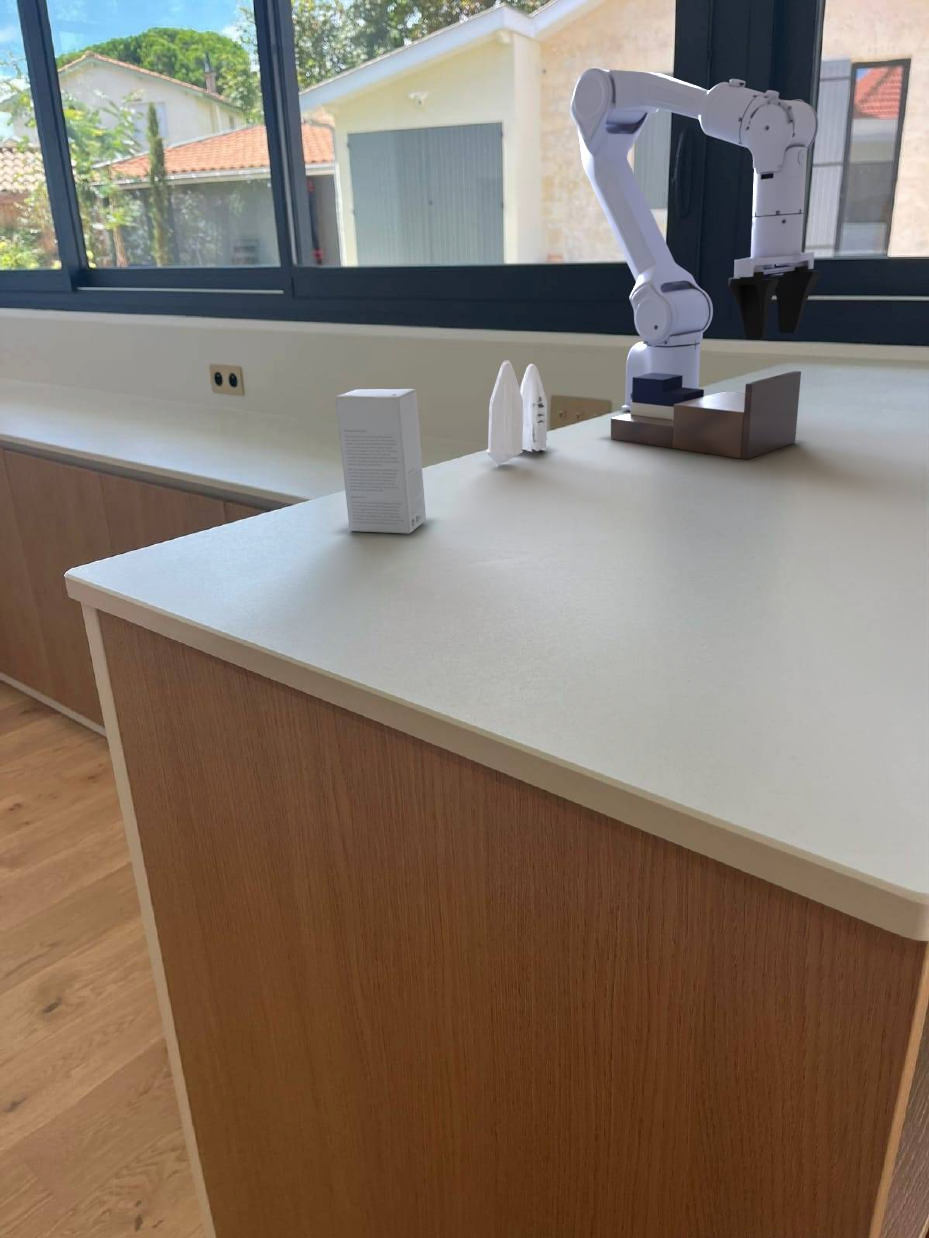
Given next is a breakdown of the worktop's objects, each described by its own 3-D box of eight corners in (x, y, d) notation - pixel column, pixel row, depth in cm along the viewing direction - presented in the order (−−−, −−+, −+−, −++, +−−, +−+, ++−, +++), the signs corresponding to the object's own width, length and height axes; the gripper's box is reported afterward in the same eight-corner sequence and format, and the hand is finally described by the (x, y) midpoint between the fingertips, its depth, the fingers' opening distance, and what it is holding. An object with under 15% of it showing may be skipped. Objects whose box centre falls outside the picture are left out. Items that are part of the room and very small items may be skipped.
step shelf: (610, 438, 115) (611, 371, 112) (660, 425, 121) (662, 360, 118) (747, 459, 102) (752, 384, 99) (795, 443, 108) (801, 371, 105)
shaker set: (512, 472, 102) (509, 367, 98) (477, 469, 104) (473, 366, 99) (555, 448, 112) (554, 351, 107) (522, 446, 113) (520, 351, 109)
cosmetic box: (427, 521, 86) (418, 388, 82) (409, 535, 83) (399, 396, 78) (367, 518, 88) (354, 388, 84) (347, 531, 85) (333, 396, 80)
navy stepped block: (629, 414, 115) (630, 377, 114) (649, 409, 118) (650, 372, 116) (684, 421, 110) (686, 382, 108) (704, 416, 112) (706, 377, 111)
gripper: (775, 215, 104) (769, 343, 109) (840, 211, 112) (832, 330, 117) (719, 219, 109) (716, 342, 113) (786, 215, 117) (780, 329, 122)
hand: (771, 336), depth 116 cm, fingers open, 7 cm apart
